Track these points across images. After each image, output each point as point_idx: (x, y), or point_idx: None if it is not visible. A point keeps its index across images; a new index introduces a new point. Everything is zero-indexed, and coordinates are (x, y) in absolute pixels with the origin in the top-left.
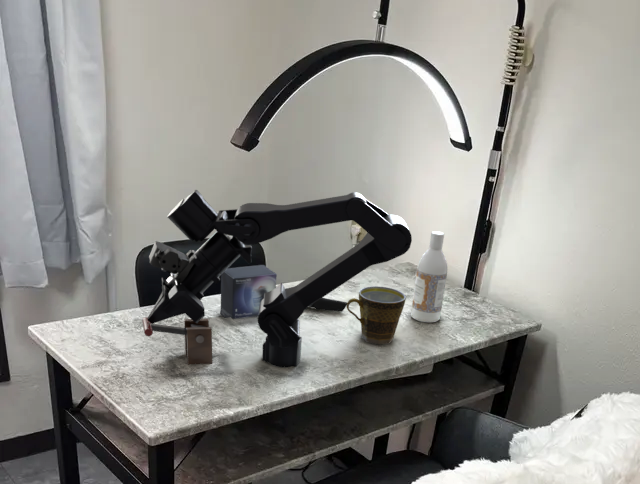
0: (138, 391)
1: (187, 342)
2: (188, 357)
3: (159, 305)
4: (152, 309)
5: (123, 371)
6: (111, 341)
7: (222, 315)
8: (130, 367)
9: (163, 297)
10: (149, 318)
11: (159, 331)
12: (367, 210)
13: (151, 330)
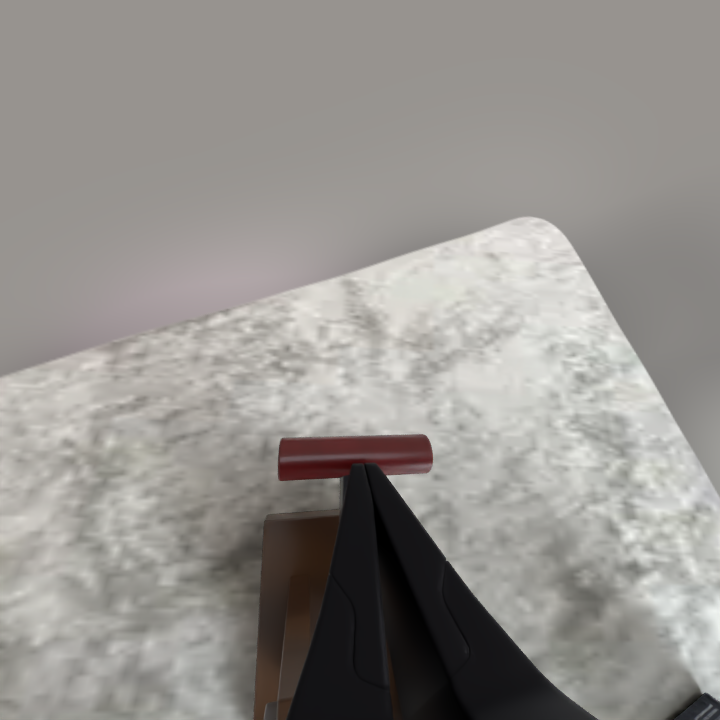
0: (178, 403)
1: (285, 638)
2: (288, 596)
3: (325, 602)
4: (403, 507)
5: (316, 371)
6: (493, 354)
7: (697, 702)
8: (338, 390)
9: (378, 706)
10: (350, 476)
11: (339, 509)
12: None
13: (279, 476)
